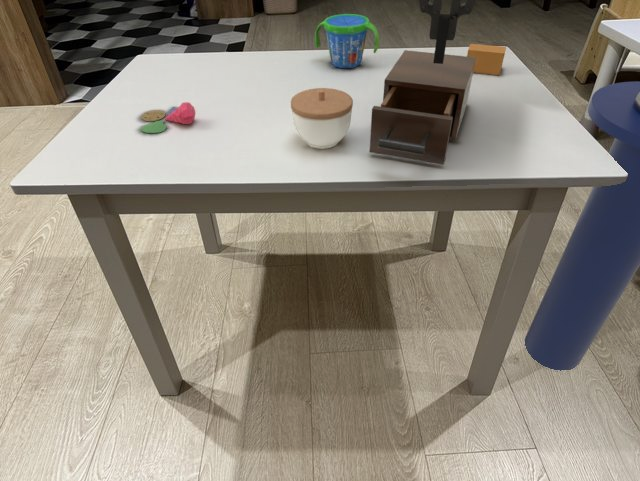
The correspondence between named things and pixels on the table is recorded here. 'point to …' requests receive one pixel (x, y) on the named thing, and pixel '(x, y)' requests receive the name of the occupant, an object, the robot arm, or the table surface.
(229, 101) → the table surface
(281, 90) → the table surface
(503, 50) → the tan wooden block
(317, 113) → the trinket box
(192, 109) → the toy pieces
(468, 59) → the cabinet
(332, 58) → the snack cup
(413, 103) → the drawer
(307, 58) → the table surface
